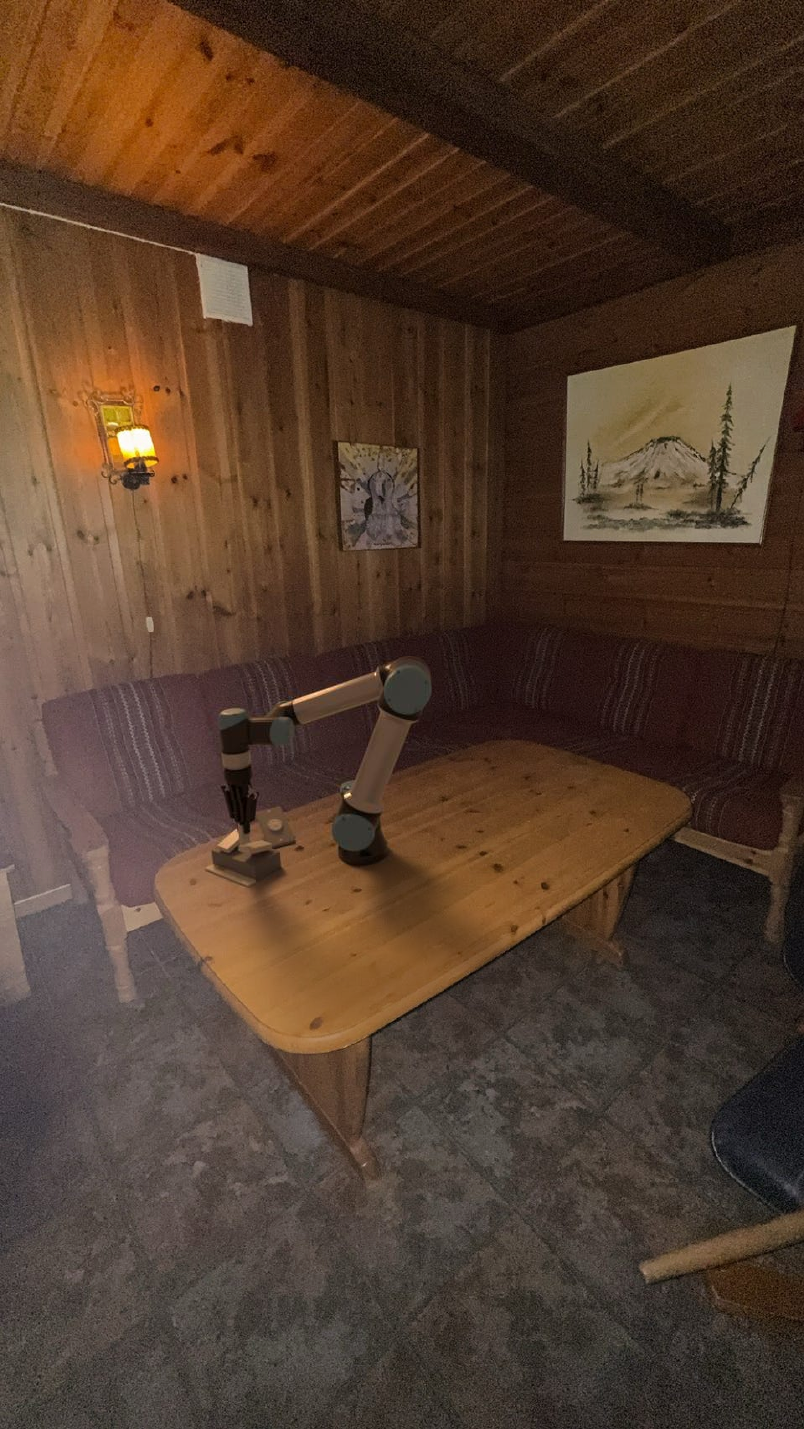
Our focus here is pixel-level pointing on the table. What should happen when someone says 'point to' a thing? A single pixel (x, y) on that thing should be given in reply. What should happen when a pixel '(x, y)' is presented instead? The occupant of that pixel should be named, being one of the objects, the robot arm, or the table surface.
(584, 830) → the table surface
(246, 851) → the rocker sage
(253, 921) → the table surface
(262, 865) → the console
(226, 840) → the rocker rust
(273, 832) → the light switch
